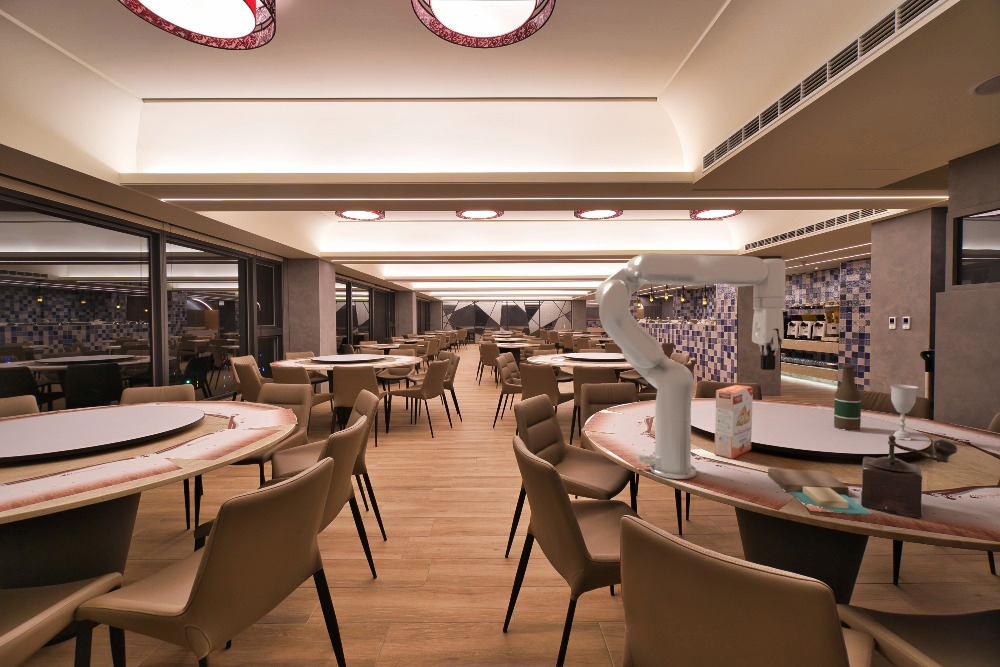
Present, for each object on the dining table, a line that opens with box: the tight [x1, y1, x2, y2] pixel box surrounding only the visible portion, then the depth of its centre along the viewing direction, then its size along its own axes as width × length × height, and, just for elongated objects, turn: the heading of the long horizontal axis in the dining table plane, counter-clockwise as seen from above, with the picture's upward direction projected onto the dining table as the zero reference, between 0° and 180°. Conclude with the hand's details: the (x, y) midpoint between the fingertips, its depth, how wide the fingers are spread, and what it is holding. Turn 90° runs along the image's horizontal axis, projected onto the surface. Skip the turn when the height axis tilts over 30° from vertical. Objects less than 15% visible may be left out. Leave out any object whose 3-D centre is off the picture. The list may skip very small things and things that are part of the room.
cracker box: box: [714, 384, 754, 460], centre depth 141 cm, size 14×6×21 cm, turn 129°
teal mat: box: [790, 492, 872, 516], centre depth 105 cm, size 12×10×1 cm
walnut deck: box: [767, 468, 850, 497], centre depth 115 cm, size 14×11×2 cm
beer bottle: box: [833, 363, 862, 431], centre depth 164 cm, size 8×8×24 cm
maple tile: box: [803, 486, 849, 508], centre depth 106 cm, size 6×8×2 cm
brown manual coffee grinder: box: [860, 434, 958, 519], centre depth 101 cm, size 16×11×18 cm
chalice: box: [889, 384, 919, 438], centre depth 151 cm, size 7×7×18 cm
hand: (767, 369), depth 124 cm, fingers closed
